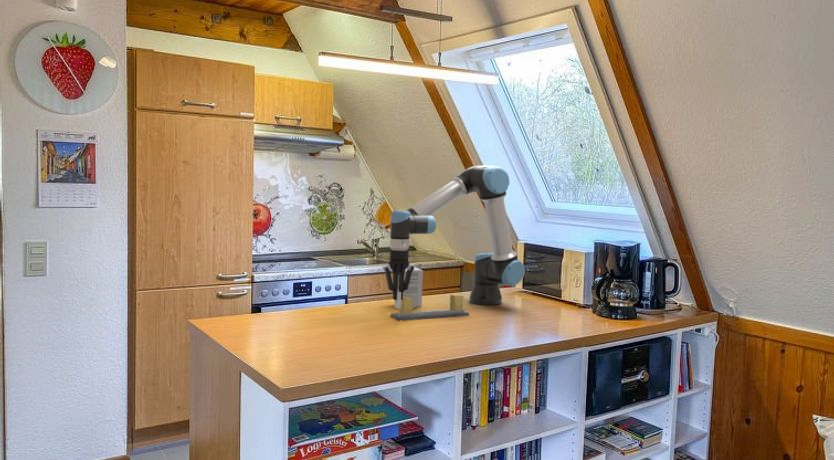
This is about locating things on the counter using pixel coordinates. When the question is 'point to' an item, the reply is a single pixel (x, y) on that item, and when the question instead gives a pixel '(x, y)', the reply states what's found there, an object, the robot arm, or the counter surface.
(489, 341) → the counter surface
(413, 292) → the supplement box
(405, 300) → the block
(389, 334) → the counter surface
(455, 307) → the board
